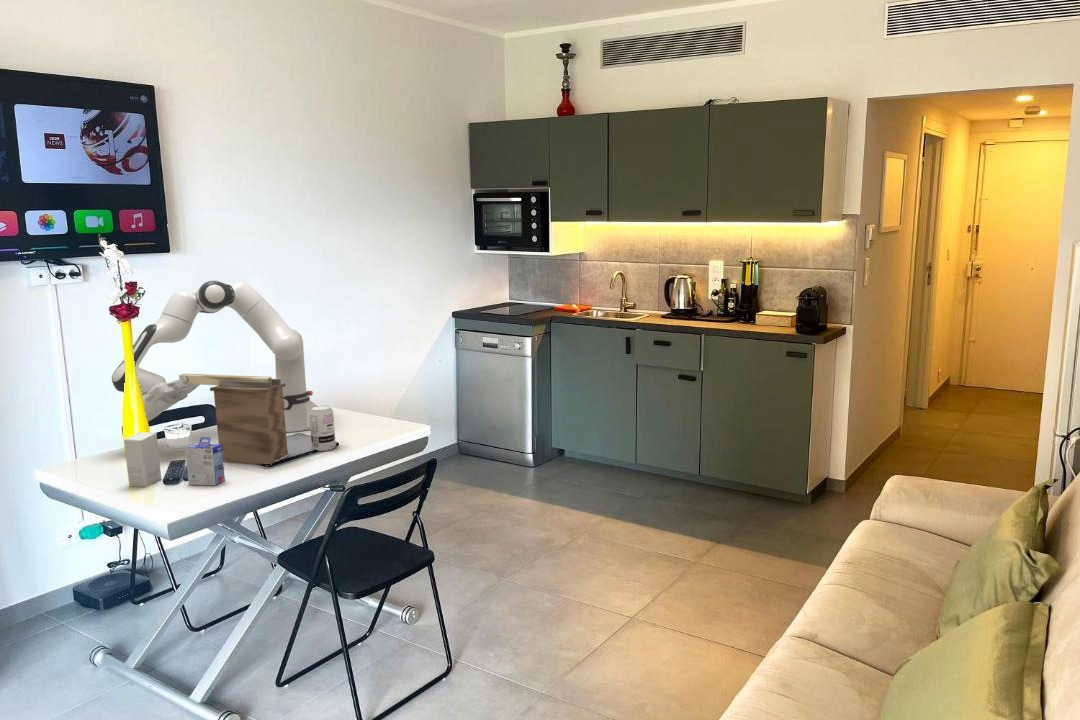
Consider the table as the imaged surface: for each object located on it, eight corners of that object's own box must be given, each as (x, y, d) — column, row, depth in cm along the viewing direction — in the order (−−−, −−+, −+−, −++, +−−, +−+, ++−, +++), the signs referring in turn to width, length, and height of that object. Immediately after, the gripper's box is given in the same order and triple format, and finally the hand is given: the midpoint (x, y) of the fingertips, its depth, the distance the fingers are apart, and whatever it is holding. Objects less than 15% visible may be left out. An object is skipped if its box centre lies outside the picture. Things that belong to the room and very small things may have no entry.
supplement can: (317, 445, 305) (314, 405, 302) (339, 445, 304) (336, 405, 301) (308, 451, 297) (305, 410, 294) (331, 451, 296) (328, 410, 293)
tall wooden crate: (237, 453, 297) (230, 376, 293) (291, 456, 291) (284, 377, 286) (217, 462, 287) (209, 382, 282) (272, 465, 281) (265, 383, 276)
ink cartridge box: (226, 480, 266) (222, 436, 263) (216, 486, 260) (212, 441, 258) (198, 479, 268) (194, 435, 265) (188, 485, 262) (183, 440, 260)
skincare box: (144, 478, 271) (139, 431, 268) (163, 479, 270) (158, 432, 267) (128, 486, 263) (122, 438, 260) (147, 487, 261) (141, 439, 259)
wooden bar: (185, 381, 293) (184, 373, 293) (272, 385, 283) (271, 376, 283) (179, 383, 291) (178, 375, 290) (266, 387, 281) (266, 378, 280)
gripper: (138, 394, 285) (165, 374, 281) (179, 382, 305) (205, 364, 300) (147, 409, 285) (174, 391, 281) (188, 397, 305) (214, 379, 300)
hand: (191, 377), depth 291 cm, fingers closed on wooden bar, 3 cm apart
